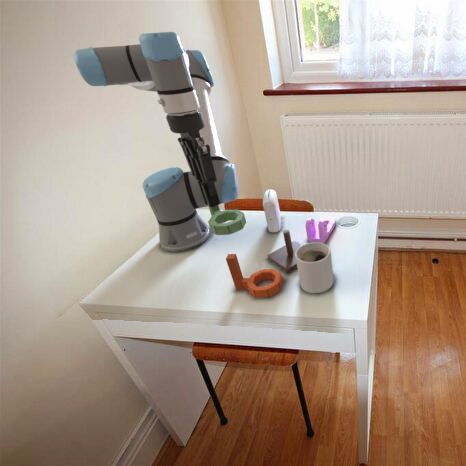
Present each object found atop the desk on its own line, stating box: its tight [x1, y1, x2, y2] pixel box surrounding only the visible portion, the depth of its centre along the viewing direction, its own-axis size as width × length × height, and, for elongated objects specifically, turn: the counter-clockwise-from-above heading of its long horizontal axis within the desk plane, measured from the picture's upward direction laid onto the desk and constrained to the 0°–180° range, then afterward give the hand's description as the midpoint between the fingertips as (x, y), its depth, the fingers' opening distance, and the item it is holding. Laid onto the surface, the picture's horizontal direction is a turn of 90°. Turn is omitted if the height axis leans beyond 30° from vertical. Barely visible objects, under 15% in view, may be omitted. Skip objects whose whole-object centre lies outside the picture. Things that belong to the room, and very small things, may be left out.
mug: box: [295, 242, 335, 294], centre depth 85 cm, size 11×10×10 cm
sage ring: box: [201, 182, 247, 236], centre depth 83 cm, size 12×8×10 cm
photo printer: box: [262, 189, 282, 233], centre depth 110 cm, size 10×4×12 cm, turn 8°
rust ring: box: [225, 253, 283, 299], centre depth 84 cm, size 12×8×10 cm
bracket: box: [305, 217, 336, 244], centre depth 106 cm, size 13×6×7 cm, turn 163°
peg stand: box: [266, 229, 303, 274], centre depth 94 cm, size 10×10×10 cm
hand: (212, 203), depth 87 cm, fingers closed on sage ring, 2 cm apart
